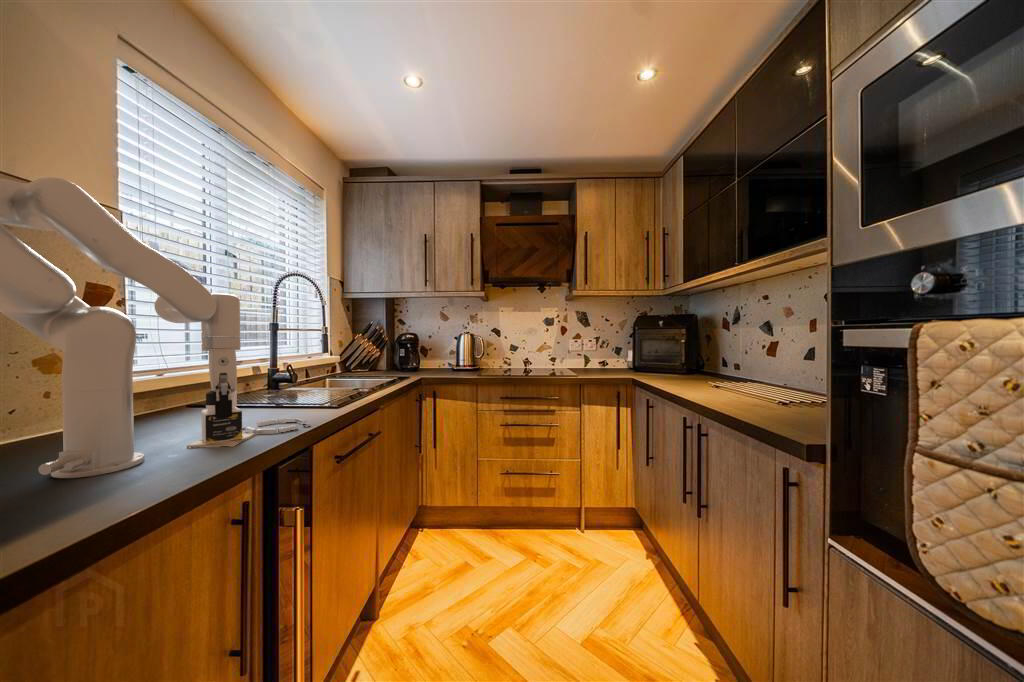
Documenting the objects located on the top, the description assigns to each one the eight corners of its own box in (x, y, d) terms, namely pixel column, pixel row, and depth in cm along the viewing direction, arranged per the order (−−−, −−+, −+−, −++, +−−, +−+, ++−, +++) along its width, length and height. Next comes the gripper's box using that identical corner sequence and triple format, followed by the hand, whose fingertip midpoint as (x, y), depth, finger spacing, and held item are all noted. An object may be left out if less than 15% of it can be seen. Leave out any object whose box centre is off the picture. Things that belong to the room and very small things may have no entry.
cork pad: (234, 446, 91) (234, 443, 91) (186, 448, 90) (186, 445, 90) (255, 435, 101) (255, 432, 101) (212, 437, 100) (212, 434, 100)
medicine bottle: (205, 444, 90) (205, 393, 90) (201, 438, 95) (200, 390, 95) (242, 438, 95) (242, 389, 95) (236, 433, 100) (236, 387, 100)
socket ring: (300, 432, 104) (300, 428, 104) (229, 435, 101) (229, 430, 101) (317, 421, 118) (317, 417, 118) (255, 423, 115) (255, 419, 115)
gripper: (243, 344, 91) (244, 418, 91) (237, 343, 104) (238, 407, 104) (202, 345, 86) (203, 422, 86) (201, 344, 99) (202, 411, 100)
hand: (222, 414), depth 95 cm, fingers open, 9 cm apart
